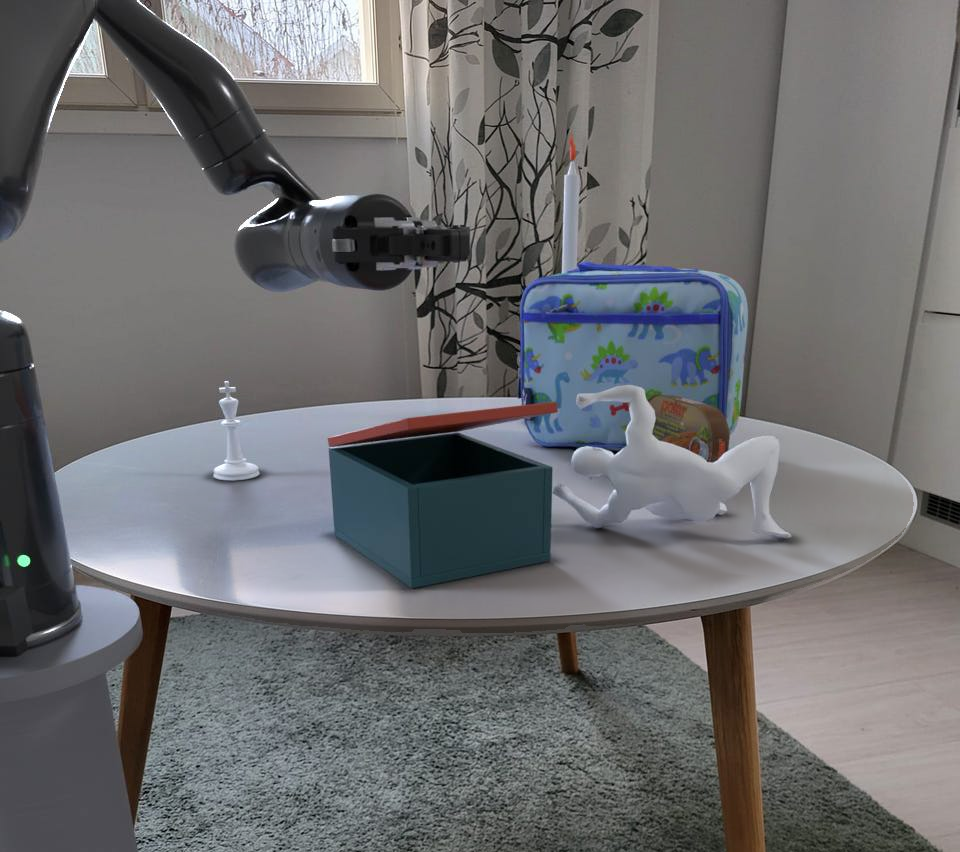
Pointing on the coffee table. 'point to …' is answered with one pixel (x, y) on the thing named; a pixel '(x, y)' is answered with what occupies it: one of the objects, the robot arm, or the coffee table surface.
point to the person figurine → (671, 472)
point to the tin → (690, 426)
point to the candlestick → (570, 214)
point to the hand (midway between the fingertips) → (460, 245)
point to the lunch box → (627, 346)
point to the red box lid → (442, 423)
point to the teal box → (441, 507)
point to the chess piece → (233, 443)
